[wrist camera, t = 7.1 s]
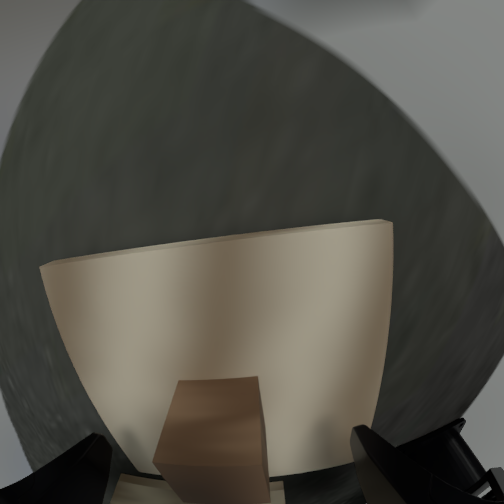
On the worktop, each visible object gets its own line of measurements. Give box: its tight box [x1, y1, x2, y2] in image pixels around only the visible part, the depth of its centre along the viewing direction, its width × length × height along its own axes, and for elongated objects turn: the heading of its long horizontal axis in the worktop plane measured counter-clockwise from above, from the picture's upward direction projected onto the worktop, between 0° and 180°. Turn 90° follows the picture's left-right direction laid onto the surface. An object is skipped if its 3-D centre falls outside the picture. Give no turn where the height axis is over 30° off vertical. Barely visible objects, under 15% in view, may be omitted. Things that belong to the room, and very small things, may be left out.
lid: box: [40, 219, 393, 504], centre depth 8 cm, size 13×13×6 cm
